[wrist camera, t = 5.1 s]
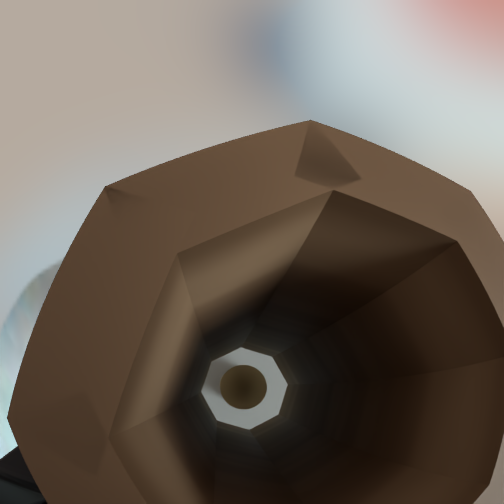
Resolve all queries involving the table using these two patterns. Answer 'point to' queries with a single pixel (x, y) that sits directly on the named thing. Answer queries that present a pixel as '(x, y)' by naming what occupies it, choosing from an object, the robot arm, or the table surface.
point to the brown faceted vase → (273, 333)
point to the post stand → (244, 388)
